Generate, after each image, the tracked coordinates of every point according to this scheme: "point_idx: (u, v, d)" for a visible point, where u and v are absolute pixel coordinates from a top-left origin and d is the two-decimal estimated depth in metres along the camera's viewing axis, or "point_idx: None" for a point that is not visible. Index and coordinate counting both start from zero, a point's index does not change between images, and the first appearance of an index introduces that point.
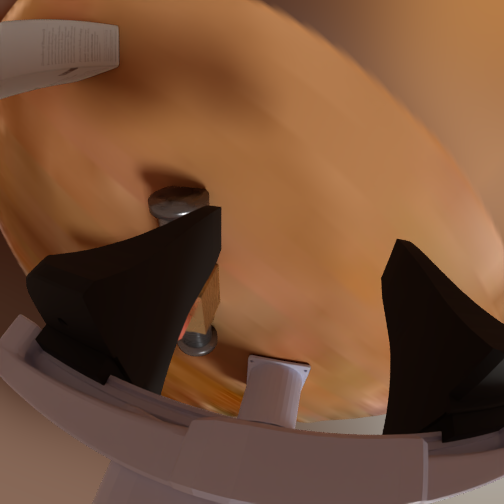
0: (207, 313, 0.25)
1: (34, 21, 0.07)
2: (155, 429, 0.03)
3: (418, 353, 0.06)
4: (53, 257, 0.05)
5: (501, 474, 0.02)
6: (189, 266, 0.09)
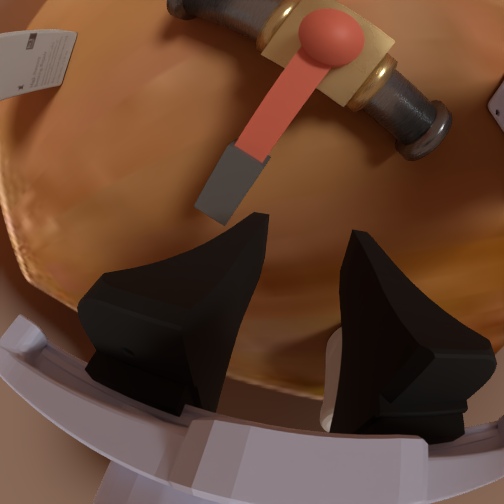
0: None
1: None
2: (155, 429, 0.03)
3: (360, 347, 0.07)
4: (112, 276, 0.05)
5: (501, 474, 0.02)
6: (246, 278, 0.08)
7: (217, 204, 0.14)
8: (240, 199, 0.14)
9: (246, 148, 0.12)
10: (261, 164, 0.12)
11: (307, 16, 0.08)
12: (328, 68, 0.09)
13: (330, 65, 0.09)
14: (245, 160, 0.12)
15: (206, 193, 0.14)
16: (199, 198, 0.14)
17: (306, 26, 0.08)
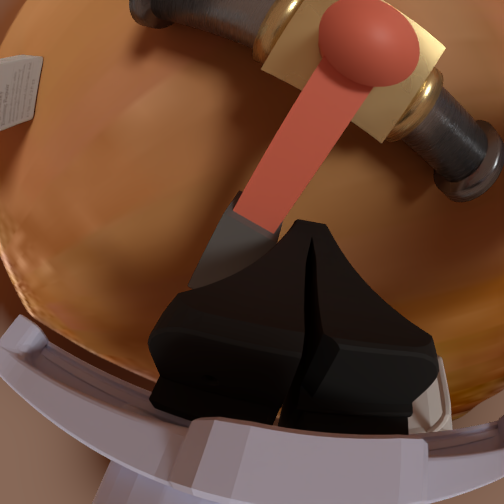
0: None
1: None
2: (155, 429, 0.03)
3: None
4: (190, 297, 0.04)
5: (501, 474, 0.02)
6: None
7: None
8: None
9: (250, 215, 0.09)
10: (272, 238, 0.09)
11: (330, 8, 0.05)
12: (367, 91, 0.06)
13: (370, 87, 0.06)
14: (249, 233, 0.09)
15: (201, 272, 0.11)
16: (193, 277, 0.11)
17: (330, 24, 0.05)
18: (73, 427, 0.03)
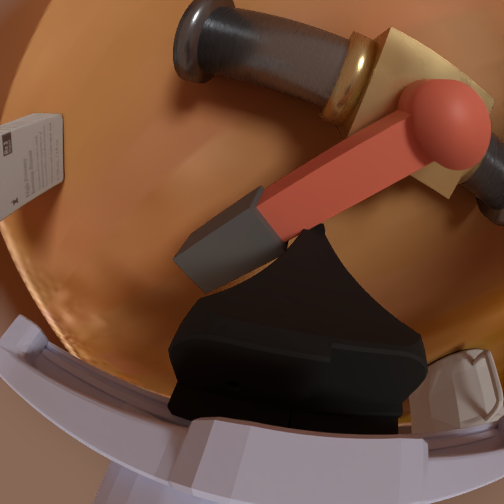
0: None
1: None
2: (155, 429, 0.03)
3: None
4: (213, 302, 0.04)
5: (501, 474, 0.02)
6: None
7: (205, 269, 0.10)
8: (238, 275, 0.10)
9: (271, 218, 0.09)
10: (283, 247, 0.09)
11: (443, 82, 0.05)
12: (427, 162, 0.07)
13: (432, 160, 0.07)
14: (264, 236, 0.09)
15: (194, 252, 0.10)
16: (183, 254, 0.10)
17: (434, 95, 0.05)
18: (73, 427, 0.03)
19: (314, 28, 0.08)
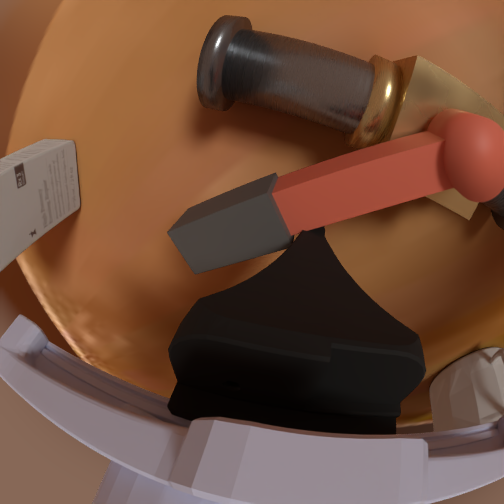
0: None
1: None
2: (155, 429, 0.03)
3: None
4: (213, 302, 0.04)
5: (501, 474, 0.02)
6: None
7: (201, 249, 0.10)
8: (235, 261, 0.10)
9: (284, 207, 0.09)
10: (290, 240, 0.09)
11: (481, 119, 0.05)
12: (447, 187, 0.07)
13: (452, 187, 0.07)
14: (275, 225, 0.09)
15: (194, 229, 0.09)
16: (180, 228, 0.09)
17: (471, 128, 0.05)
18: (73, 427, 0.03)
19: (339, 53, 0.08)
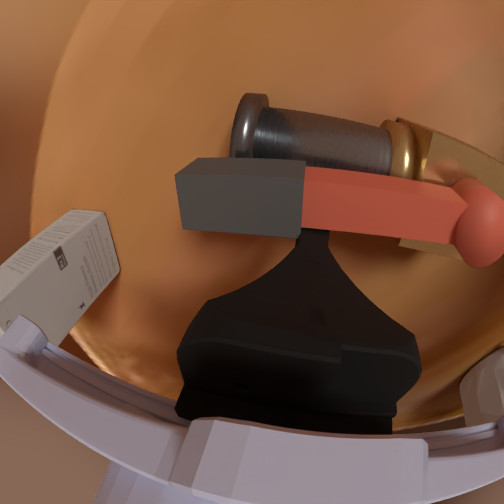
0: (477, 150, 0.08)
1: None
2: (155, 429, 0.03)
3: None
4: (222, 304, 0.04)
5: (501, 474, 0.02)
6: None
7: (204, 205, 0.09)
8: (234, 231, 0.09)
9: (309, 199, 0.08)
10: (300, 231, 0.09)
11: (503, 203, 0.06)
12: (451, 242, 0.08)
13: (455, 244, 0.08)
14: (294, 212, 0.08)
15: (207, 182, 0.08)
16: (192, 176, 0.08)
17: (493, 206, 0.06)
18: (73, 427, 0.03)
19: (358, 129, 0.10)
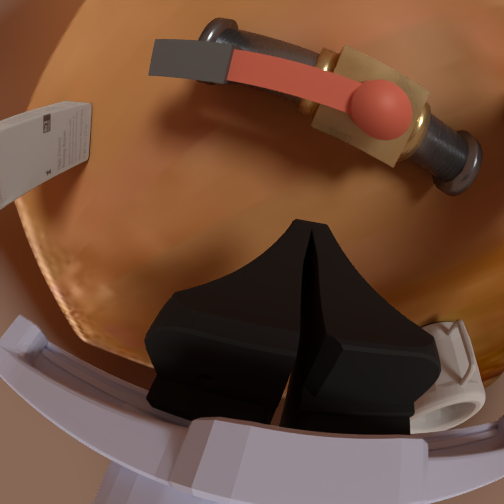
0: None
1: None
2: (155, 429, 0.03)
3: (302, 339, 0.07)
4: (187, 296, 0.04)
5: (501, 474, 0.02)
6: None
7: (166, 58, 0.10)
8: (181, 76, 0.10)
9: (235, 61, 0.10)
10: (224, 80, 0.10)
11: (396, 86, 0.09)
12: (347, 111, 0.10)
13: (351, 113, 0.10)
14: (222, 64, 0.10)
15: (173, 44, 0.09)
16: (165, 40, 0.09)
17: (384, 85, 0.09)
18: (73, 427, 0.03)
19: (294, 46, 0.12)
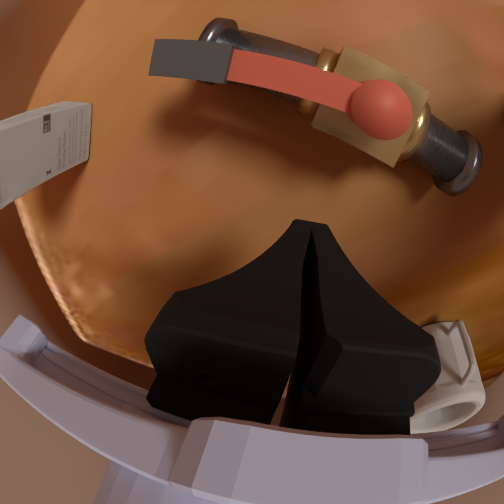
0: None
1: None
2: (155, 429, 0.03)
3: (302, 339, 0.07)
4: (187, 296, 0.04)
5: (501, 474, 0.02)
6: None
7: (166, 58, 0.10)
8: (181, 76, 0.10)
9: (235, 61, 0.10)
10: (224, 80, 0.10)
11: (396, 86, 0.09)
12: (347, 111, 0.10)
13: (351, 113, 0.10)
14: (222, 64, 0.10)
15: (173, 44, 0.09)
16: (165, 40, 0.09)
17: (384, 85, 0.09)
18: (73, 427, 0.03)
19: (294, 46, 0.12)
